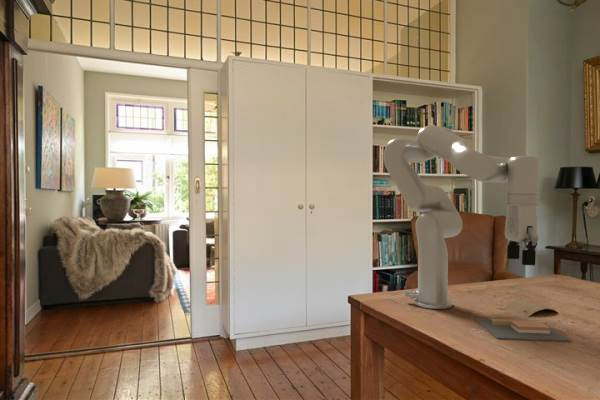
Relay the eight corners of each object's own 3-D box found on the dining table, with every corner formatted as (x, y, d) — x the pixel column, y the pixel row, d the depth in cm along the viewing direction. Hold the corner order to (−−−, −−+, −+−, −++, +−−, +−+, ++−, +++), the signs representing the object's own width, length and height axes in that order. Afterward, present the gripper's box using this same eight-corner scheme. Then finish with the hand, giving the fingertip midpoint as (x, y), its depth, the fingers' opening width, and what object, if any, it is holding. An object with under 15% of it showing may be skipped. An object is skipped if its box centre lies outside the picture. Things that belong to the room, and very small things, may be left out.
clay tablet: (534, 306, 138) (534, 298, 138) (562, 314, 129) (562, 306, 129) (501, 310, 133) (501, 302, 133) (527, 319, 124) (527, 310, 124)
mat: (497, 339, 105) (497, 332, 105) (476, 319, 121) (476, 314, 121) (570, 341, 103) (570, 335, 103) (539, 321, 119) (539, 316, 119)
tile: (510, 326, 114) (518, 332, 109) (510, 320, 114) (518, 326, 109) (540, 327, 113) (550, 333, 108) (540, 321, 113) (550, 327, 108)
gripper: (496, 199, 123) (494, 256, 123) (521, 201, 105) (519, 267, 106) (522, 199, 122) (520, 257, 122) (552, 201, 105) (550, 268, 105)
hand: (520, 261), depth 114 cm, fingers open, 9 cm apart
